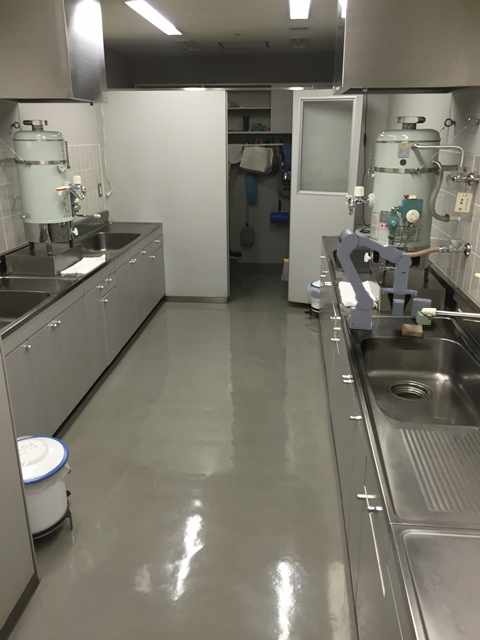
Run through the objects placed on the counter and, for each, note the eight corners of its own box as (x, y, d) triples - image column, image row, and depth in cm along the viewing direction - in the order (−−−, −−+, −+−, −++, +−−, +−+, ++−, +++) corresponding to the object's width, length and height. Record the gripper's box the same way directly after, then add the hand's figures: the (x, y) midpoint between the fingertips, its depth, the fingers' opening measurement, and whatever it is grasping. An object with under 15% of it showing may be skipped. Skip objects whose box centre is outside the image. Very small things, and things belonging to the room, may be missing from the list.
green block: (418, 325, 232) (419, 315, 230) (415, 320, 237) (417, 310, 235) (430, 326, 231) (431, 315, 229) (427, 321, 237) (428, 310, 235)
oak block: (402, 335, 222) (402, 330, 221) (402, 328, 229) (402, 323, 229) (421, 336, 220) (422, 332, 219) (421, 329, 227) (421, 325, 226)
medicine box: (429, 317, 241) (431, 299, 238) (428, 320, 237) (430, 302, 234) (412, 314, 244) (413, 297, 241) (410, 318, 240) (412, 300, 237)
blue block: (392, 315, 228) (393, 302, 226) (392, 311, 232) (393, 298, 230) (402, 316, 227) (404, 303, 225) (402, 312, 231) (404, 299, 229)
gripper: (383, 281, 222) (380, 311, 227) (418, 284, 218) (415, 314, 223) (383, 277, 228) (381, 306, 233) (418, 279, 225) (414, 308, 230)
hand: (397, 309), depth 229 cm, fingers closed on blue block, 4 cm apart
